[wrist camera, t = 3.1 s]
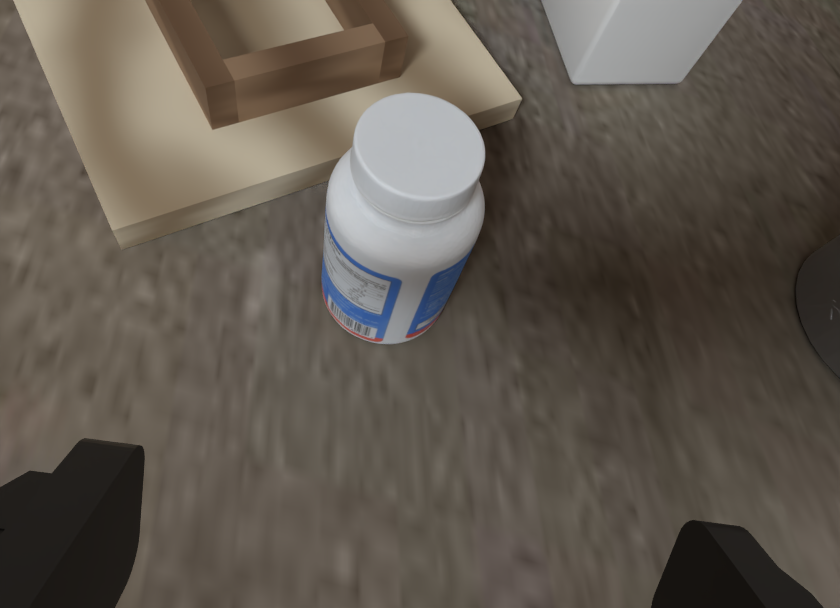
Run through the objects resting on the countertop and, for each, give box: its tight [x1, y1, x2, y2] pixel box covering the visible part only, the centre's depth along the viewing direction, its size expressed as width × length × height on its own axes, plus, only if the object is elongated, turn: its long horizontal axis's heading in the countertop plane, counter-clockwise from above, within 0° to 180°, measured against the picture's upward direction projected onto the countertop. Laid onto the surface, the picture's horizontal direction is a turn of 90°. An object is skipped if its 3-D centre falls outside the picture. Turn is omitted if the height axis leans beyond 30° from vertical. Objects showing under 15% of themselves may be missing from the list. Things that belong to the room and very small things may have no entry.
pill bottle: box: [322, 93, 485, 344], centre depth 23 cm, size 6×5×10 cm
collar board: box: [14, 0, 522, 250], centre depth 30 cm, size 20×16×4 cm
